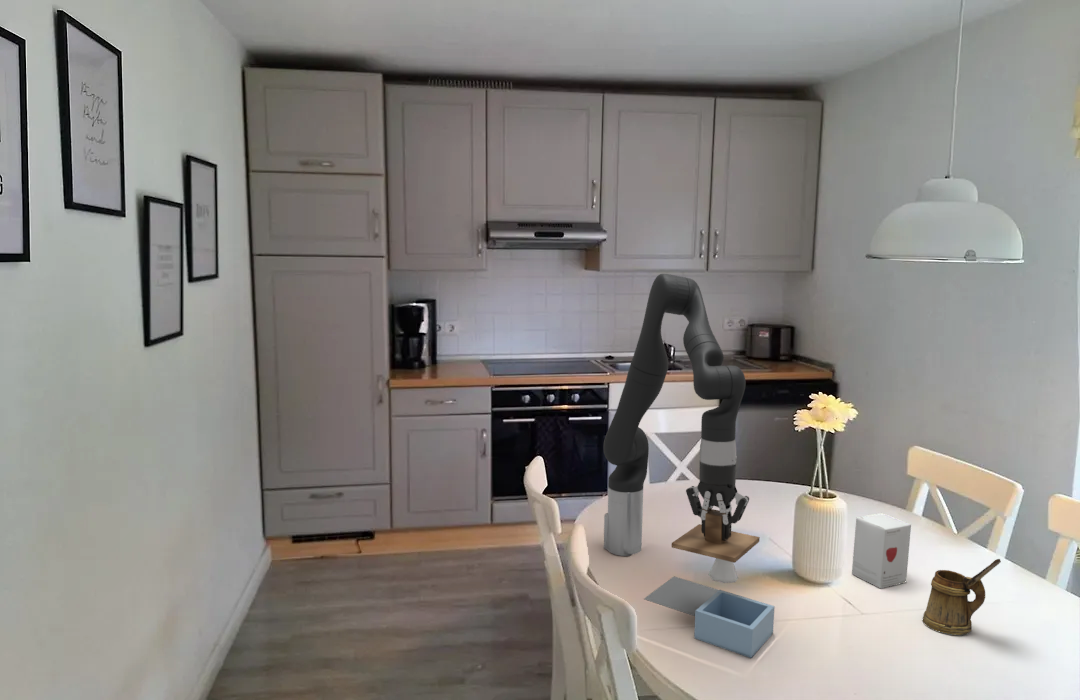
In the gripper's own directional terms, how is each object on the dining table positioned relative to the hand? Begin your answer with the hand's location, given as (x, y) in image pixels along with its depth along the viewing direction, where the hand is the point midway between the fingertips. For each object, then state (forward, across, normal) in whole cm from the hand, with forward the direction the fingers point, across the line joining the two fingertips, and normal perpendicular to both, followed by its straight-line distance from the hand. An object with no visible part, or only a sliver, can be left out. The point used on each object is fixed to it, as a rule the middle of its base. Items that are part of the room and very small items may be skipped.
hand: (716, 537), depth 155 cm
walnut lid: (+2, 0, 0) cm, 2 cm away
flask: (+18, -6, +20) cm, 27 cm away
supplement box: (+19, +24, +43) cm, 53 cm away
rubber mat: (+18, -8, +5) cm, 20 cm away
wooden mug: (+19, +43, +27) cm, 54 cm away
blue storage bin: (+18, +6, -6) cm, 20 cm away
